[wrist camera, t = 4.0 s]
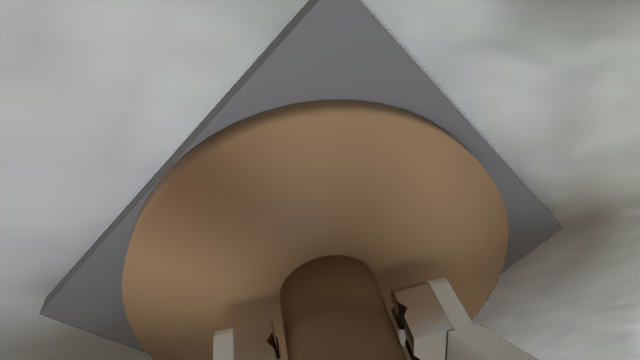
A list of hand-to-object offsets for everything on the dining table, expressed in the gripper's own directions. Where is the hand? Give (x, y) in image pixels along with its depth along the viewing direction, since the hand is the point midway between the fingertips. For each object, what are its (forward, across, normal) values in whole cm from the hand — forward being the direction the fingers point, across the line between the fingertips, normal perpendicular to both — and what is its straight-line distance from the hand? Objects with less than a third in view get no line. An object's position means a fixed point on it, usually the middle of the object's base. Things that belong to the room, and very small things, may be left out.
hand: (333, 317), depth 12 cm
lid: (+2, 0, 0) cm, 2 cm away
